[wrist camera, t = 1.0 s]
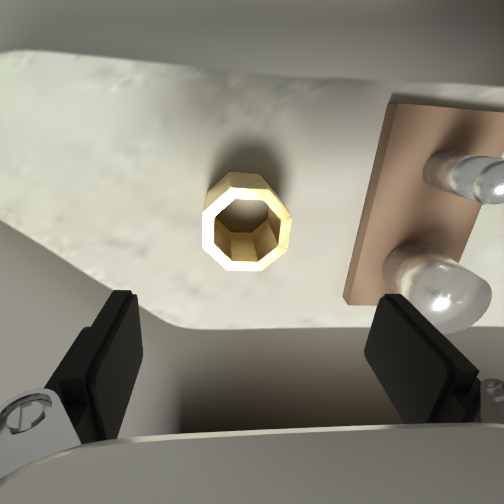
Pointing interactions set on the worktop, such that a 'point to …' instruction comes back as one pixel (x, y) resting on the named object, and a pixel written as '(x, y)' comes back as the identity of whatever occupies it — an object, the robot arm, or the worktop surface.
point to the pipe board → (416, 190)
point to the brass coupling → (239, 243)
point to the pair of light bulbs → (437, 264)
